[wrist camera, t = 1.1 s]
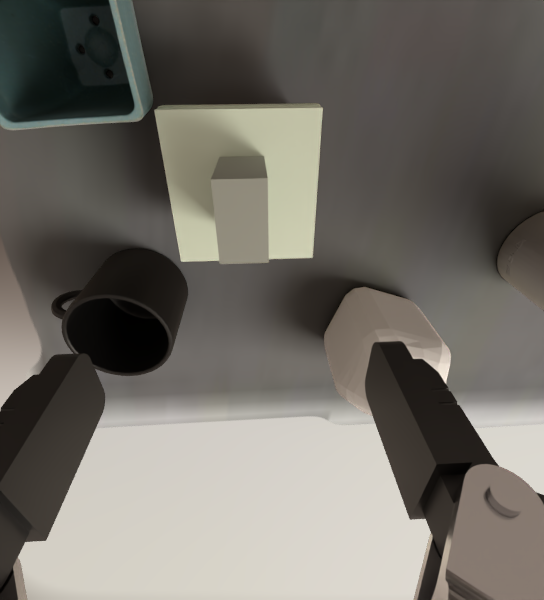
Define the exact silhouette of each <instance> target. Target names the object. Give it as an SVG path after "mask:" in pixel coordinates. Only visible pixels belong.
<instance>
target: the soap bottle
mask: <svg viewBox="0 0 544 600" xmlns="http://www.w3.org/2000/svg"><path fill="white" fill-rule="evenodd" d="M390 341H402V342H403V343H404V344H405V345H406V347H407V349H408V350H409V352H410V354H411V356H412V357H413V359H423V360H425V361H426V362H427V363H428V364H429V365H431V366H432V367H433V368H434V369H435V370H436V371H438V372H439V374H440V376H441V377H442V379H443V380H444V382H445V383H446V380H447V375H448V371H449V367H450V359H451V354H450V350H449V348H448V347H447V346H446V344H445V343H444V341H443V340H442V339H441V337H440V336H439V335H438V333H437V332H436V330H435V329H434V328H433V326H432V325H431V324H430V322H429V321H428V319H427V318H426V317H425V315H424V314H423V313H422V311H421V310H420V309H419V308H418V307H417V306H416V305H415V304H414V303H413V302H412V301H410V300H409V299H405V298H402V297H398V296H395V295H391V294H388V293H384V292H381V291H377V290H374V289H370V288H367V287H361V288H354V289H353V290H351V291H350V292H349V293H348V294H346V295H345V297H344V299H343V300H342V302H341V304H340V306H339V308H338V310H337V311H336V313H335V315H334V317H333V319H332V321H331V322H330V324H329V326H328V328H327V330H326V331H325V335H324V347H325V350H326V354H327V358H328V361H329V365H330V369H331V372H332V376H333V380H334V383H335V387H336V390H337V391H338V393H339V394H340V395H341V396H342V397H343V398H345V399H346V400H347V401H348V402H350V403H351V404H353V405H354V406H355V407H357V408H358V409H359V410H361V411H362V412H364V413H366V414H369V415H372V412H371V410H370V407H369V404H368V401H367V398H366V392H365V377H366V373H367V368H368V363H369V358H370V354H371V349H372V345H373V344H374V343H375V342H390ZM372 416H373V415H372Z"/></svg>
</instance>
